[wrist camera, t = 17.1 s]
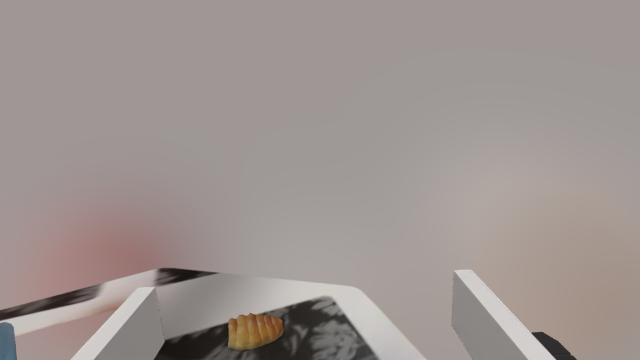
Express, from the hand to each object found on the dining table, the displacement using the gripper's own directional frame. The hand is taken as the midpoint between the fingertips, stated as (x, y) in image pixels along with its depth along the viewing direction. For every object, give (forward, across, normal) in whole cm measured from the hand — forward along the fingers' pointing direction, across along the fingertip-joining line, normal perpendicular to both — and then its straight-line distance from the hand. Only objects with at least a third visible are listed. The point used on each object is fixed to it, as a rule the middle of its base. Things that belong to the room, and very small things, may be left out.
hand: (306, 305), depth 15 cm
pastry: (+38, -12, -30) cm, 50 cm away
